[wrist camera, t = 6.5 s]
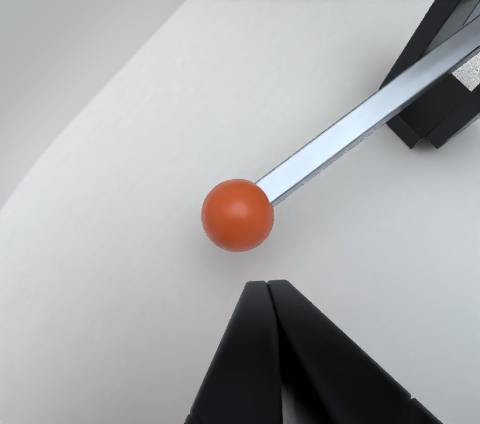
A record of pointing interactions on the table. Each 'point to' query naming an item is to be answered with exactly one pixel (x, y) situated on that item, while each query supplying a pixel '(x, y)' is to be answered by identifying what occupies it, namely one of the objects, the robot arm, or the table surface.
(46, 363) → the table surface
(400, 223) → the table surface
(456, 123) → the switch bracket
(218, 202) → the switch
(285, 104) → the table surface
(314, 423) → the robot arm
